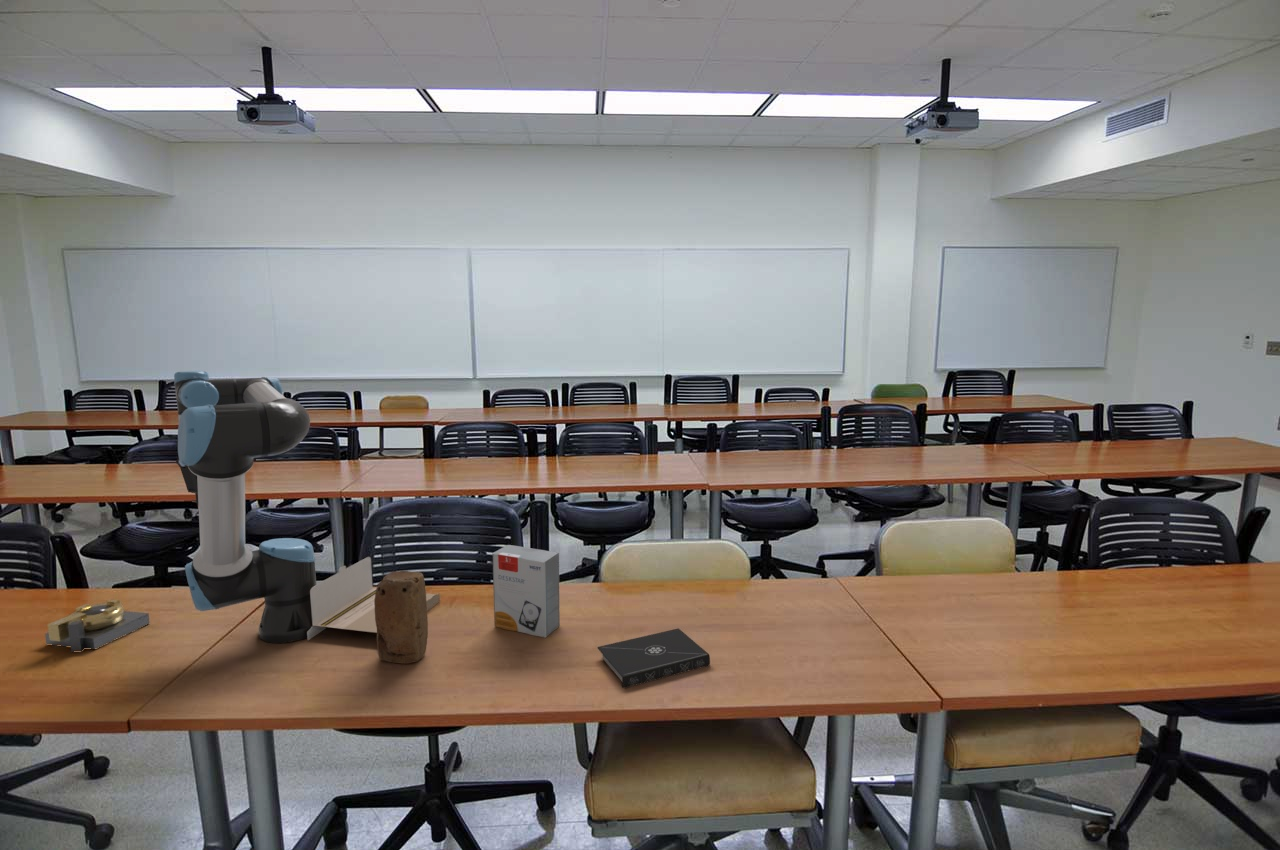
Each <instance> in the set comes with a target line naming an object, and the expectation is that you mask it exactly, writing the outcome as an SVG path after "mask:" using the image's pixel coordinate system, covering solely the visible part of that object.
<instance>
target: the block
mask: <svg viewBox="0 0 1280 850" xmlns="http://www.w3.org/2000/svg"><path fill="white" fill-rule="evenodd" d="M376 588H377V589H376V593H375V599H374V605H375V621H376V627H377V633H376V643H377V644H376V649H377V654H378V655H377V656H378V658H379V659H380V660H381V661H384V662H385V661H387V662H388V663H394V664H412V663H414V662H415V663H417V662H418V661H420V660H421V659H422V658H423V657H424V656H425V654H426V651H427V645H428V638H429V635H428V634H429V621H428V620H429V619H428V611H427V602H426V593H427V592H426V591H427V590H426V583H425V577H424V574H423V573H422V572H419V571H410V570H399V571H398V570H396V571H392V572H389V573H388V574H385V576H383V579H382V580H380V581H379V582H378V584H377V586H376Z"/></svg>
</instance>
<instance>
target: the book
mask: <svg viewBox="0 0 1280 850" xmlns="http://www.w3.org/2000/svg"><path fill="white" fill-rule="evenodd" d="M597 649H598V650H599V652H600V653H601V655H602V656H601V657H602V659H603V661H604V662H605V663H606V664H607V666H609V668H610V669H611V670H612V672H613V673H615V674H616V676H617V678H619V680H620V681H621V682H622V688H623V689H626V688H628V687H632V686H637V685H640V683H641V684H644V682H645V683H648V682H651V681H655V679H656V680H659V678H660V679H663V678H667V677H670V676H674V674H675V675H678V673H679V674H682V673H685V671H686V672H689V671H688V670H690V671H693V669H694V670H697V669H701V668H705V667H707V666H708V665H709V666H710V664H711V658H710V653H708V652H707V651H706V650H705V649H704V648H702V647H701V646H700V645H699V644H697V642H696V641H694V640H693V639H692V638H691V637H689V636H688V635H687V634H686V633H685V632H684V631H683V630H682V629H680V628H678V627H677V628H674V629H669V630H665V631H661V632H657V633H652V634H648V635H644V636H639V637H634V638H631V639H626V640H622V641H618V642H613V643H609V644H605V645H600V646H597ZM704 666H705V667H704ZM709 666H708V667H709ZM700 667H701V668H700ZM681 672H682V673H681ZM666 676H667V677H666ZM662 677H663V678H662ZM647 681H648V682H647ZM636 684H637V685H636Z"/></svg>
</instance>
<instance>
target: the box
mask: <svg viewBox="0 0 1280 850" xmlns="http://www.w3.org/2000/svg"><path fill="white" fill-rule="evenodd" d="M372 571H373V570H372V558H371V557H370V556H367V557H365V558H364V559H361V560H359V561H358V562H356V563H354V564H352V565H350V566H348V567H347V566H346V565H342V566H341V567H339V568H338V572H337V573H334V574H333V575H331V576H330V577H328V578H326V579H324V580H323V581H320V582H319V583H316V585H315V586H314V587H312V588H311V590H310V599H311V611H312V624H313V626H312V627H311V628H310V629H309V630H308V631H307V638H306V639H307V641H309V640H311V639H313V637H315V636H317V635H319V634H320V633H321V632H322V631H324V630H326V629H327V628H332V629H339V630H349V631H358V632H367V633H375V634H377V627H376V621H375V605H374V599H375V593H376V589H377V587H373V572H372ZM440 601H441V600H440V593H435V594H434V593H427V592H426V602H427V612H428V611H430V610H431V609H432V608H434V607H435V606H436V605H437V604H438V603H439V602H440Z"/></svg>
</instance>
